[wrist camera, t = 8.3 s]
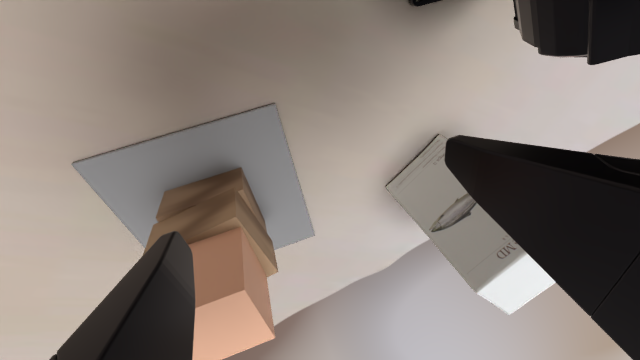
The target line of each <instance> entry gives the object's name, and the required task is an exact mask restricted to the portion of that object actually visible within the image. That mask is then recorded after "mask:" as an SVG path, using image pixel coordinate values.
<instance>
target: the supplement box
mask: <svg viewBox="0 0 640 360" xmlns="http://www.w3.org/2000/svg"><path fill="white" fill-rule="evenodd" d="M447 140H448V139H447V138H445V137H444V136H442V135H438V136H437V137H436V139H435V140H434V141H433V142H432V143H431V144H430V145H429V146H428V147H427V148H426V149H425V150H424V151H423V152H422V153H421V154H420V155H419V156H418V157H417V158H416V159H415V160H414V161H413V162H412V163H411V164H410V165H409V166H408V167H407V168H406V169H404V170H403V171H402V172H401V173H400V174H399V175H398V176H397V177H396V178H395V179H394V180H393V181H392V182H391V183H389V184H388V185H387V186H386V188H387V190H388V191H389V192H390V193H391V195H392V196H393V197H394V198H395V199H396V200H397V201H398V203H399V204H400V205H401V206H402V207H403V208H404V209H405V211H406V212H407V213H408V214H409V215H410V216H411V217H412V219H413V220H414V221H415V222H416V223H417V224H418V225H419V227H420V228H421V229H422V230H423V231H424V232H425V234H426V235H427V236H428V237H429V238H430V240H431V241H432V242H433V243H434V244H435V245H436V247H437V248H438V249H439V250H440V251H441V253H442V254H443V255H444V256H445V257H446V258H447V260H448V261H449V262H450V263H451V264H452V266H453V267H454V268H455V269H456V270H457V271H458V273H459V274H460V275H461V276H462V277H463V278H464V280H465V281H466V282H467V283H468V285H469V286H470V287H471V288H472V289H473V290H474V291H475V292H476V293H477V294H478V295H480V296H481V297H483V298H485V299H486V300H488V301H489V302H491V303H492V304H493V305H495V306H496V307H498V308H499V309H500V310H502V311H503V312H505V313H506V314H508V315H509V314H512V313H513V312H514V311H516V310H517V309H518V308H520V307H521V306H523V305H524V304H525V303H527V302H529V301H530V300H531V299H533V298H534V297H536V296H537V295H538V294H540V293H541V292H543V291H544V290H546V289H547V288H548V287H550V286H551V285H553V284H554V283H556V282H555V281H554V280H553V279H552V278H551V277H550V276H549V275H548V274H547V273H546V272H545V271H544V270H543V269H542V268H541V267H540V266H539V265H538V264H537V263H536V262H535V261H534V260H533V259H532V258H531V257H530V256H529V255H528V254H527V253H526V252H525V251H524V250H523V249H522V248H521V247H520V246H519V245H518V244H517V243H516V242H515V241H514V240H513V239H512V238H511V237H510V236H509V235H508V234H507V233H506V232H505V231H504V230H503V229H502V228H501V227H500V226H499V225H498V224H497V223H496V222H495V221H494V220H493V219H492V218H491V217H490V216H489V215H488V214H487V213H486V212H485V211H484V210H483V209H482V208H481V207H480V206H479V205H478V204H477V203H476V202H475V201H474V199H473V198H472V197H471V196H470V195H469V194H468V193H467V191H466V190H465V189H464V188H463V186H462V185H461V184H460V183H459V181H458V180H457V179H456V178H455V176H454V175H453V174H452V173H451V171H450V170H449V169H448V168H447V166H446V164H445V161H444V158H445V146H446V141H447Z"/></svg>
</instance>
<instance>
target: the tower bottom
mask: <svg viewBox="0 0 640 360" xmlns="http://www.w3.org/2000/svg"><path fill="white" fill-rule="evenodd" d="M234 187H235V188H236V190H237V191H238V193H239V194H240V195H241V197H242V198H243V200H244V201H245V202H246V204H247V205H248V207H249V208H250V210H251V211H252V212H253V214H254V215H255V217H256V218H257V220H258V221H259V222H260V224H261V225H262V227H263V228H264V230H265V231H266V232H267V230H266V224H265V220H264V218H263V215H262V213H261V211H260V209H259V206H258V204H257V202H256V199H255V197H254V195H253V193H252V190H251V188H250V186H249V184H248V181H247V179H246V177H245V175H244V172H243V170H242V168H241V167H240V168H237V169H234V170H231V171H228V172H224V173H221V174H218V175H215V176H212V177H209V178H206V179H202V180H199V181H196V182H193V183H190V184H187V185H184V186H180V187H177V188H174V189H171V190H168V191H165V192H164V195H163V197H162V200H161V203H160V206H159V209H158V212H157V215H156V220H157V221H158V222H161V221H163V220H165V219H167V218H169V217H171V216H174V215H176V214H178V213H180V212H182V211H184V210H186V209H189V208H191V207H193V206H195V205H197V204H199V203H202V202H204V201H206V200H208V199H210V198H212V197H215V196H217V195H219V194H221V193H223V192H225V191H228V190H230V189H232V188H234Z"/></svg>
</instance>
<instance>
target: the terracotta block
mask: <svg viewBox="0 0 640 360" xmlns="http://www.w3.org/2000/svg"><path fill="white" fill-rule="evenodd" d="M188 246H189V247H190V248H191V251H192V254H193V267H194V282H195V300H196V302H195V323H194V340H193V358H192V360H222V359H224V358H227V357H229V356H232V355H234V354H236V353H239V352H241V351H244V350H246V349H249V348H252V347H254V346H257V345H259V344H262V343H264V342H266V341H269V340H272V339H274V338H275V333H274V326H273V319H272V312H271V305H270V298H269V291H268V284H267V277H266V274H265V272H264V270H263V268H262V266H261V264H260V262H259V261H258V259H257V257H256V255H255V253H254V251H253V249H252V247H251V245H250V243H249V241H248V239H247V238H246V236H245V234H244V232H243V230H242V228H241V227H238V228H235V229H233V230H230V231H227V232H224V233H221V234H218V235H215V236H212V237H209V238H206V239H203V240H201V241H198V242H195V243H192V244H189V245H188Z"/></svg>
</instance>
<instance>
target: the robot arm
mask: <svg viewBox="0 0 640 360" xmlns="http://www.w3.org/2000/svg"><path fill="white" fill-rule="evenodd" d="M437 1H441V0H418V1H416V0H409V3H410V4H411V5H412V6H422V5H426V4H429V3H433V2H437ZM513 2H514V9H515V17H514V25H515V28H516V29H518V30H520V33H521V36H522V39H523V40H524V41H525V42H527V43H529V44H531V45H532V46H534V47H538V53H539V54H541V55H546V56H554V57H587V63H588V64H589V65H595V64H600V63H603V62H607V61H611V60H615V59H619V58H622V57H626V56H632V55H638V54H640V0H513ZM444 161H445V164H446V166H447V168H448V169H449V170H450V171H451V173H452V174H453V175H454V176H455V178H456V179H457V180H458V181H459V183H460V184H461V185H462V186H463V188H464V189H465V190H466V191H467V193H468V194H469V195H470V196H471V197H472V198H473V199H474V201H475V202H476V203H477V204H478V205H479V206H480V207H481V208H482V209H483V210H484V211H485V212H486V213H487V214H488V215H489V216H490V217H491V218H492V219H493V220H494V221H495V222H496V223H497V224H498V225H499V226H500V227H501V228H502V229H503V230H504V231H505V232H506V233H507V234H508V235H509V236H510V237H511V238H512V239H513V240H514V241H515V242H516V243H517V244H518V245H519V246H520V247H521V248H522V249H523V250H524V251H525V252H526V253H527V254H528V255H529V256H530V257H531V258H532V259H533V260H534V261H535V262H536V263H537V264H538V265H539V266H540V267H541V268H542V269H543V270H544V271H545V272H546V273H547V274H548V275H549V276H550V277H551V278H552V279H553V280H554V281H555V282H556V283H557V284H558V285H559V286H560V287H561V288H562V289H563V290H564V291H565V292H566V293H567V294H568V295H569V296H570V297H571V298H572V299H573V300H574V301H575V302H576V303H577V304H578V305H579V306H580V307H581V308H582V309H583V310H584V311H585V312H586V313H587V314H588V315H589V316H591V318H592V319H593V320H594V321H595V322H596V323H597V324H598V325H599V326H600V327H601V328H602V329H603V330H604V331H605V332H606V333H607V334H608V335H609V336H610V337H611V338H612V339H613V340H614V341H615V342H616V343H617V344H618V345H619V346H620V347H621V348H622V349H623V350H624V351H625V352H626V353H627V354H628V355H629V356H630V357H631V358H632V359H633V360H640V160H639V159H631V158H623V157H615V156H608V155H601V154H595V155H594V154H592V153H586V152H579V151H571V150H564V149H557V148H550V147H542V146H535V145H528V144H521V143H513V142H506V141H499V140H492V139H484V138H477V137H470V136H463V135H458V136H455V137H452V138H449V139H448V140H447V141H446V146H445V158H444ZM195 302H196V300H195V282H194V267H193V254H192V251H191V248H190V247H189V246H188V244H187V243H186V241H185V240H184V239H183V237H182V236H181V234H180V233H179V232H177V231H172V232H169V233H166V234H163V235H162V236H160V237H159V239H158V240H157V241H156V242H155V243H154V244H153V245H152V246H151V247H150V249H149V250H148V251H147V252H146V253H145V254H144V255H143V256H142V257H141V259H140V260H139V261H138V262H137V263H136V264H135V265H134V266H133V267H132V269H131V270H130V271H129V272H128V273H127V274H126V275H125V276H124V277H123V279H122V280H121V281H120V282H119V283H118V284H117V285H116V286H115V287H114V289H113V290H112V291H111V292H110V293H109V294H108V295H107V296H106V297H105V299H104V300H103V301H102V302H101V303H100V304H99V305H98V306H97V307H96V309H95V310H94V311H93V312H92V313H91V314H90V315H89V316H88V317H87V319H86V320H85V321H84V322H83V323H82V324H81V325H80V326H79V327H78V329H77V330H76V331H75V332H74V333H73V334H72V335H71V336H70V337H69V339H68V340H67V341H66V342H65V343H64V344H63V345H62V346H61V347H60V349H59V350H58V351H57V354H55V355H53V356H52V357H51V358H50V360H192V358H193V340H194V323H195Z"/></svg>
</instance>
